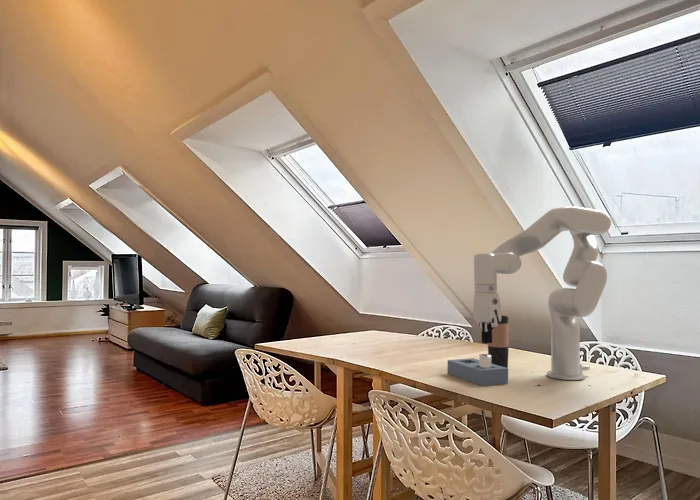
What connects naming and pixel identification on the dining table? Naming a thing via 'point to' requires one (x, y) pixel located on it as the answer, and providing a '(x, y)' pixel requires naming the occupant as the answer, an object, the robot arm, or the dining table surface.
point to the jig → (477, 372)
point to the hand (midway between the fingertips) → (487, 342)
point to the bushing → (485, 361)
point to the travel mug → (499, 343)
